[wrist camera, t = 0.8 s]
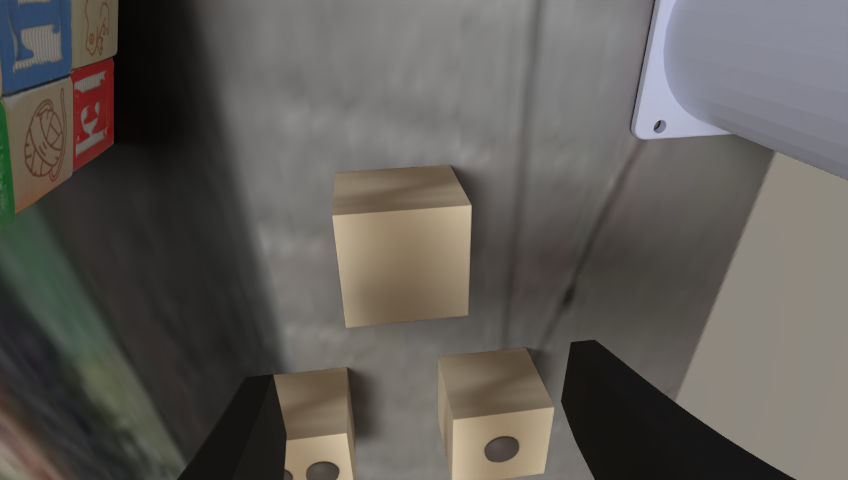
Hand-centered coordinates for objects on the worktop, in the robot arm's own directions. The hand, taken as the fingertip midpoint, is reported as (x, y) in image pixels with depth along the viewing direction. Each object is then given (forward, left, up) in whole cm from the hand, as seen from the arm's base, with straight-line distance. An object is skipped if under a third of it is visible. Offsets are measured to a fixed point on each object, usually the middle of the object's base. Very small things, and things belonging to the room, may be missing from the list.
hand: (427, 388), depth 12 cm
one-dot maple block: (-4, +10, -10) cm, 14 cm away
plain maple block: (0, 0, -10) cm, 10 cm away
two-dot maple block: (+5, +10, -10) cm, 15 cm away
